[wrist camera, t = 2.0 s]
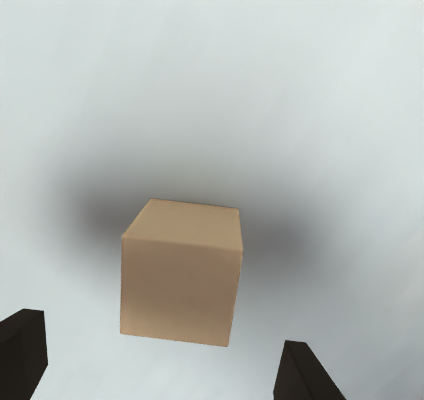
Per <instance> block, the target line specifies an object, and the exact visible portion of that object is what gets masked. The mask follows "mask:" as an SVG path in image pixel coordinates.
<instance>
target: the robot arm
mask: <svg viewBox="0 0 424 400" xmlns="http://www.w3.org/2000/svg"><path fill="white" fill-rule="evenodd" d="M47 365H48V357H47V345H46V332H45V320H44V311H40V310H32V309H22V310H20V311H18V312H16V313H15V314H13V315H11V316H9V317H8V318H6V319H4V320H3V321H1V322H0V400H30V399H31V397H32V395H33V393H34V391H35V389H36V387H37V385H38V384H39V381H40V379H41V377H42V375H43V373H44V371H45V369H46V367H47ZM273 395H274V400H346V399H345V397H344V396H343V394H342V393H341V392H340V390H339V389H338V388H337V386H336V385H335V383H334V382H333V380H332V379H331V378H330V376H329V375H328V373H327V372H326V371H325V369H324V368H323V366H322V365H321V363H320V362H319V360H318V359H317V358H316V356H315V355H314V353H313V352H312V350H311V349H310V347H309V346H308V345H307V343H305V342H297V341H289V340H285V343H284V348H283V352H282V356H281V360H280V365H279V369H278V373H277V378H276V382H275V386H274V390H273Z"/></svg>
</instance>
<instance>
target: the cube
mask: <svg viewBox="0 0 424 400" xmlns="http://www.w3.org/2000/svg"><path fill="white" fill-rule="evenodd" d="M242 257H243V244H242V234H241V225H240V216H239V209H236V208H228V207H220V206H211V205H203V204H194V203H186V202H178V201H169V200H161V199H152V198H151V199H150V200H149V201H148V202H147V204H146V205H145V206H144V208H143V209H142V210H141V212H140V213H139V214H138V216H137V217H136V218H135V220H134V221H133V222H132V224H131V225H130V226H129V228H128V229H127V230H126V231H125V233H124V234H123V236H122V254H121V310H120V333H121V334H126V335H134V336H142V337H150V338H158V339H166V340H174V341H183V342H191V343H199V344H207V345H215V346H223V347H227V346H228V345H229V338H230V332H231V326H232V320H233V313H234V307H235V301H236V295H237V288H238V282H239V276H240V269H241V263H242Z"/></svg>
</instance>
